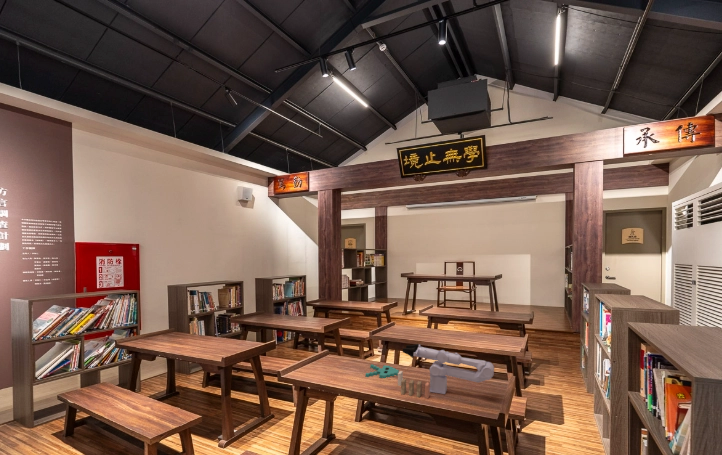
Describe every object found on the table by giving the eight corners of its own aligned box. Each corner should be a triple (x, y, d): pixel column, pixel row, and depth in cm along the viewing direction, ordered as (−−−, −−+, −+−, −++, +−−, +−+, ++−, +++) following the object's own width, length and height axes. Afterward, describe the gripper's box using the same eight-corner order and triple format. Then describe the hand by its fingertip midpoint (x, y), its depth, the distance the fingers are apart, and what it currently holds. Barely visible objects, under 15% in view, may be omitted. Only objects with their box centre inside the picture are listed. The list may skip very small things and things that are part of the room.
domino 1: (406, 391, 205) (406, 379, 205) (403, 394, 200) (403, 382, 201) (403, 391, 205) (403, 378, 206) (401, 394, 201) (401, 381, 201)
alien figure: (365, 377, 228) (396, 380, 224) (365, 374, 228) (396, 376, 224) (370, 367, 248) (399, 369, 244) (370, 364, 248) (399, 366, 244)
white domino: (402, 383, 218) (402, 371, 218) (400, 385, 213) (400, 373, 214) (400, 382, 219) (400, 370, 219) (397, 385, 214) (397, 373, 214)
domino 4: (429, 395, 200) (429, 382, 200) (427, 398, 195) (427, 385, 196) (426, 394, 200) (426, 382, 201) (424, 398, 196) (424, 385, 196)
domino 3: (421, 394, 201) (421, 381, 202) (419, 397, 197) (419, 384, 197) (418, 393, 202) (418, 380, 202) (416, 396, 197) (416, 383, 198)
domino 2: (413, 392, 203) (413, 380, 204) (411, 396, 198) (411, 383, 199) (411, 392, 204) (411, 379, 204) (408, 395, 199) (408, 382, 200)
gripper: (429, 343, 217) (408, 339, 222) (424, 349, 204) (401, 344, 209) (429, 355, 217) (407, 350, 222) (423, 361, 203) (400, 356, 209)
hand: (404, 348), depth 215 cm, fingers open, 7 cm apart
